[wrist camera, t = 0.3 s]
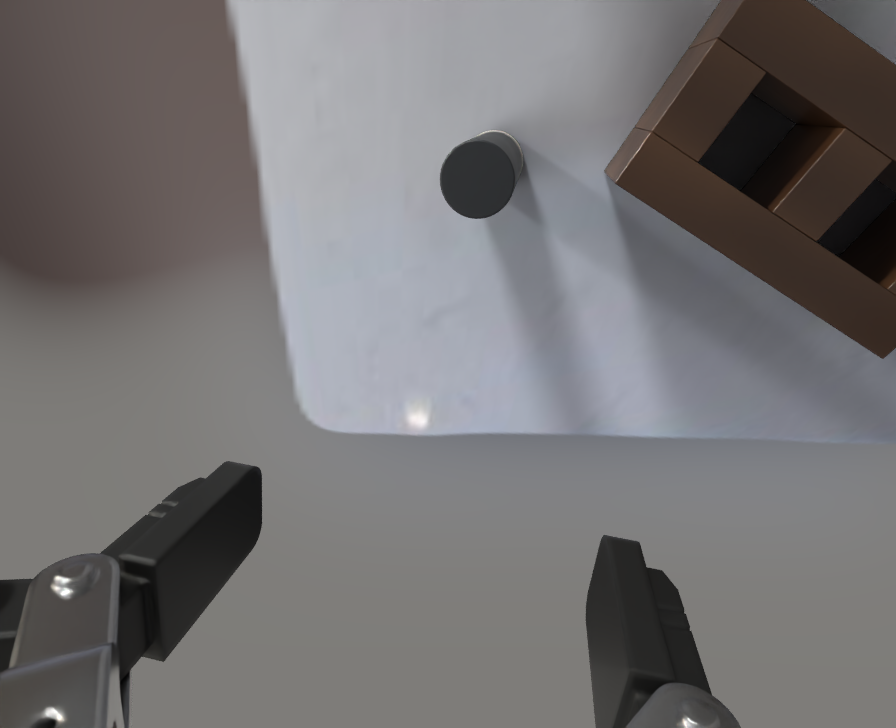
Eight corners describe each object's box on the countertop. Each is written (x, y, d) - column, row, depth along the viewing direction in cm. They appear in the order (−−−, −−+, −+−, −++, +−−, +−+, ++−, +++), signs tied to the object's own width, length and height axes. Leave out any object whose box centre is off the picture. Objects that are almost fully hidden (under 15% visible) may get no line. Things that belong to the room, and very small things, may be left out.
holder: (725, -6, 25) (764, -31, 21) (983, 177, 26) (1072, 191, 22) (603, 171, 29) (614, 183, 25) (833, 322, 30) (883, 359, 26)
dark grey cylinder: (486, 117, 29) (463, 121, 21) (535, 149, 29) (531, 166, 21) (456, 170, 30) (424, 193, 22) (503, 200, 30) (489, 234, 22)
